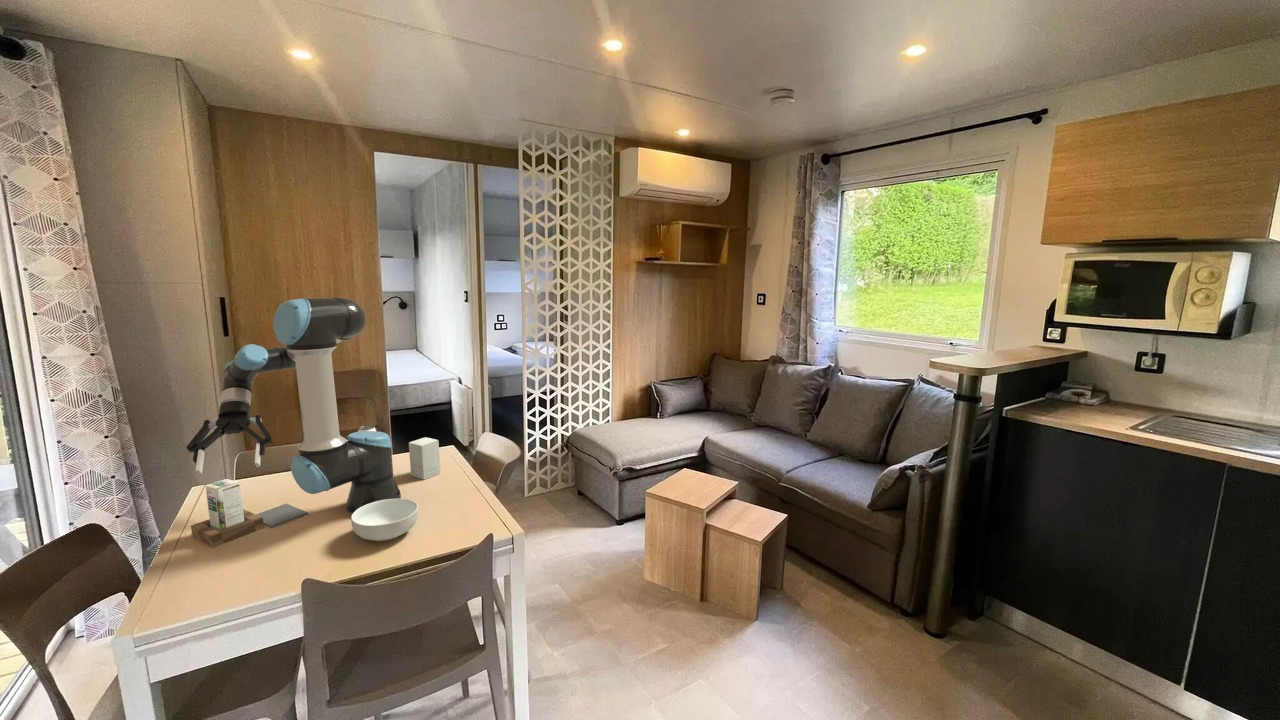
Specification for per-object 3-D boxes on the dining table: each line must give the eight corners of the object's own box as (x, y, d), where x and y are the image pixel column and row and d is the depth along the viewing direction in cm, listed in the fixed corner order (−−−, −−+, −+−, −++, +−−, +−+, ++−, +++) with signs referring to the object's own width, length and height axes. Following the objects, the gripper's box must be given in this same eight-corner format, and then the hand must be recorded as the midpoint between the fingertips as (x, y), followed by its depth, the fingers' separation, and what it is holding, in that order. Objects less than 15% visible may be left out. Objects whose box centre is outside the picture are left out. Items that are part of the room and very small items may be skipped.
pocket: (264, 528, 146) (262, 517, 145) (213, 547, 135) (212, 536, 135) (242, 518, 151) (241, 508, 151) (192, 536, 141) (190, 525, 141)
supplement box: (441, 473, 186) (439, 440, 184) (423, 480, 180) (421, 445, 178) (428, 469, 190) (426, 436, 188) (410, 475, 184) (407, 442, 182)
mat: (308, 514, 154) (308, 512, 154) (271, 528, 146) (271, 526, 146) (286, 505, 160) (286, 503, 160) (249, 518, 151) (249, 516, 151)
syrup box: (210, 535, 142) (203, 485, 139) (234, 525, 147) (227, 477, 145) (223, 539, 140) (216, 489, 137) (246, 529, 145) (240, 480, 143)
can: (372, 460, 199) (370, 430, 197) (356, 459, 199) (353, 429, 197) (381, 454, 205) (379, 425, 203) (365, 453, 205) (362, 425, 203)
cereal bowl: (415, 545, 138) (413, 520, 136) (346, 554, 133) (343, 529, 132) (422, 516, 154) (421, 494, 152) (361, 523, 149) (358, 500, 148)
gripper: (285, 407, 168) (282, 467, 157) (187, 416, 157) (177, 481, 146) (281, 395, 162) (277, 456, 151) (179, 403, 151) (167, 469, 140)
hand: (228, 468), depth 149 cm, fingers open, 13 cm apart
